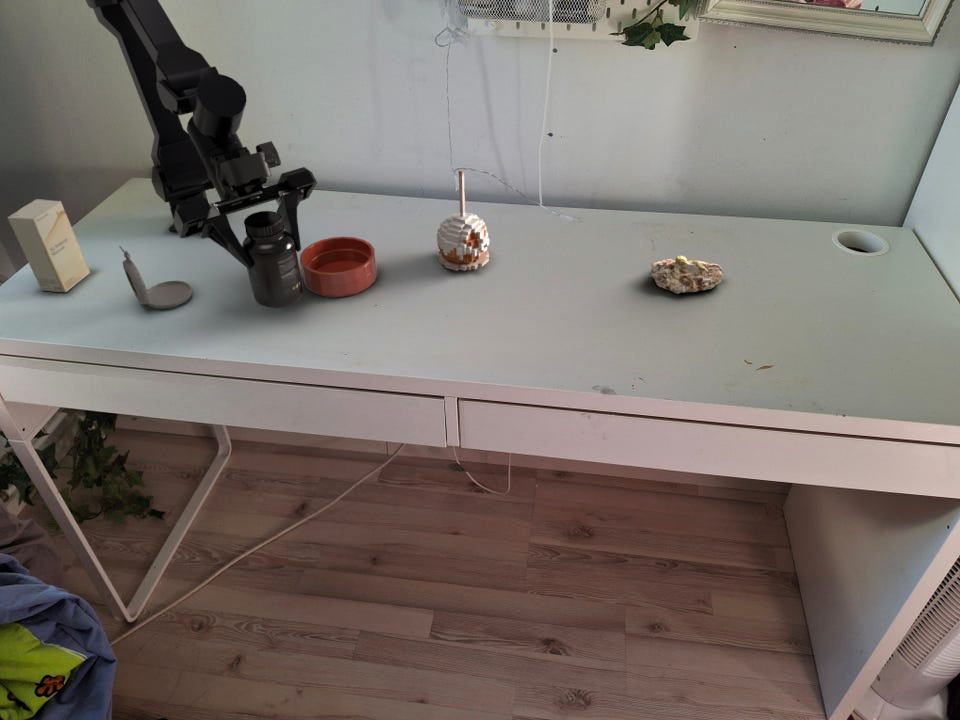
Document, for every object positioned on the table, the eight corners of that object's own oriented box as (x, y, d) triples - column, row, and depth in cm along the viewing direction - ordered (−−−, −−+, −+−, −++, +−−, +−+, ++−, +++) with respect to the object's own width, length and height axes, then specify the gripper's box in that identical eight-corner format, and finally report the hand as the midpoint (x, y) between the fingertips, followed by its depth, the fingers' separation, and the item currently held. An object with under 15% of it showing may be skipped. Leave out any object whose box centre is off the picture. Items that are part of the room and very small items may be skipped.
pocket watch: (202, 290, 107) (183, 230, 100) (165, 321, 100) (143, 259, 94) (157, 281, 109) (136, 222, 103) (118, 311, 103) (94, 250, 96)
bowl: (319, 257, 114) (315, 234, 111) (385, 263, 112) (383, 239, 110) (293, 295, 105) (288, 271, 103) (365, 301, 104) (362, 277, 101)
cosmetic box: (66, 294, 106) (33, 220, 99) (39, 291, 107) (5, 217, 100) (92, 272, 111) (62, 200, 104) (66, 269, 112) (35, 197, 104)
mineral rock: (655, 283, 102) (651, 243, 107) (649, 302, 106) (646, 263, 110) (731, 287, 102) (724, 246, 106) (722, 307, 105) (716, 267, 110)
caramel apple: (473, 278, 108) (471, 186, 99) (429, 265, 111) (423, 175, 102) (497, 255, 114) (497, 165, 104) (455, 243, 117) (452, 155, 107)
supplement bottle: (300, 278, 104) (286, 203, 97) (307, 304, 99) (292, 227, 91) (252, 287, 102) (234, 211, 95) (256, 313, 97) (237, 235, 90)
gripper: (155, 143, 84) (214, 263, 84) (298, 107, 93) (352, 215, 93) (152, 183, 94) (205, 290, 94) (282, 147, 103) (330, 244, 103)
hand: (274, 259), depth 96 cm, fingers closed on supplement bottle, 7 cm apart
